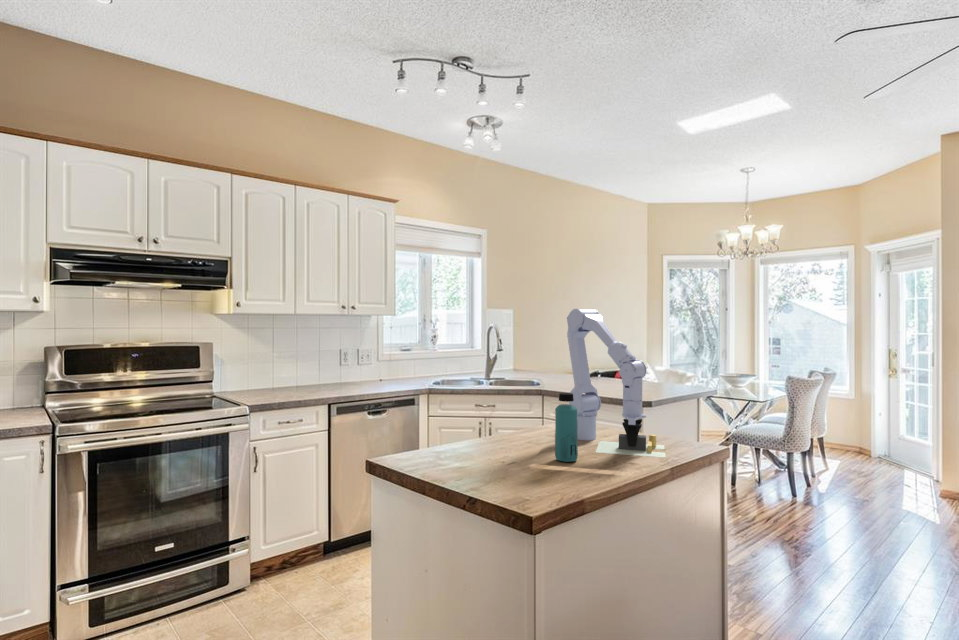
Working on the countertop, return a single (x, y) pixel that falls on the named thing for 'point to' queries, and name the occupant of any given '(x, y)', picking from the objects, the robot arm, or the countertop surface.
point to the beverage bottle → (566, 429)
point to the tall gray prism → (639, 445)
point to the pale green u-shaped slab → (614, 449)
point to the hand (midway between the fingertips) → (632, 444)
